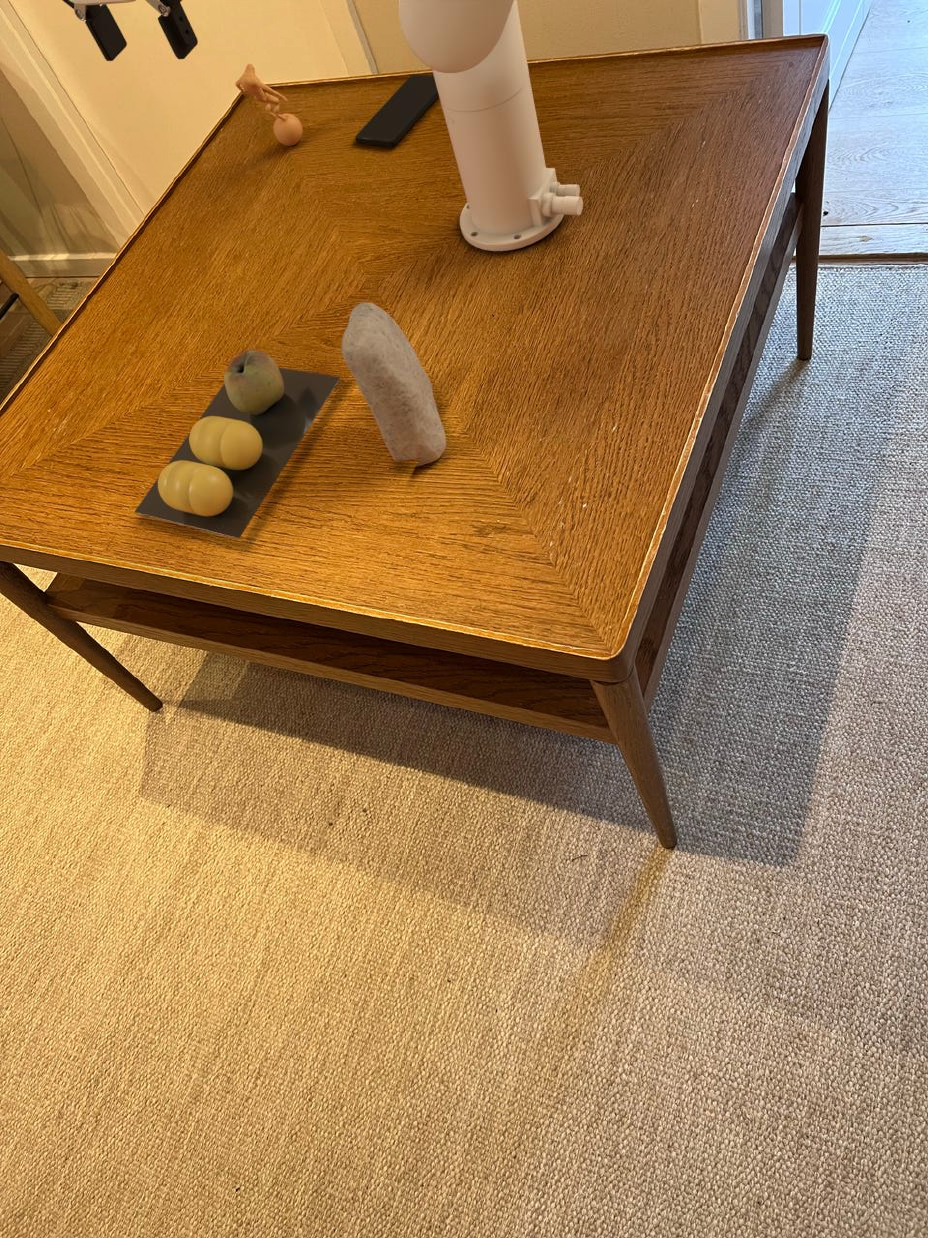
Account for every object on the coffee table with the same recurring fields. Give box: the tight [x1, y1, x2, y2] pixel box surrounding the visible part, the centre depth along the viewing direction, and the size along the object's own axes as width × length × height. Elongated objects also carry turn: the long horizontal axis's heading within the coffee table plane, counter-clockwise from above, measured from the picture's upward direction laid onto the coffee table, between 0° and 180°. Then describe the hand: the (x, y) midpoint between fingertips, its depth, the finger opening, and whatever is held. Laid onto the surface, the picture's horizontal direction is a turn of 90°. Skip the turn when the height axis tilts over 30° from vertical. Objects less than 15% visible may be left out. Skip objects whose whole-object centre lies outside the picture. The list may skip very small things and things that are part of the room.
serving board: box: [133, 367, 342, 540], centre depth 96 cm, size 14×22×2 cm, turn 155°
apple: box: [223, 349, 284, 415], centre depth 96 cm, size 6×8×6 cm
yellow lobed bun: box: [189, 416, 262, 470], centre depth 93 cm, size 8×5×5 cm, turn 65°
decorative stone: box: [341, 302, 447, 468], centre depth 86 cm, size 11×6×15 cm, turn 5°
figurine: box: [234, 63, 303, 147], centre depth 123 cm, size 8×6×12 cm
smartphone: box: [355, 74, 440, 148], centre depth 124 cm, size 7×1×15 cm
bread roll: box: [157, 460, 233, 516], centre depth 90 cm, size 8×5×5 cm, turn 65°
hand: (152, 52), depth 93 cm, fingers open, 9 cm apart
